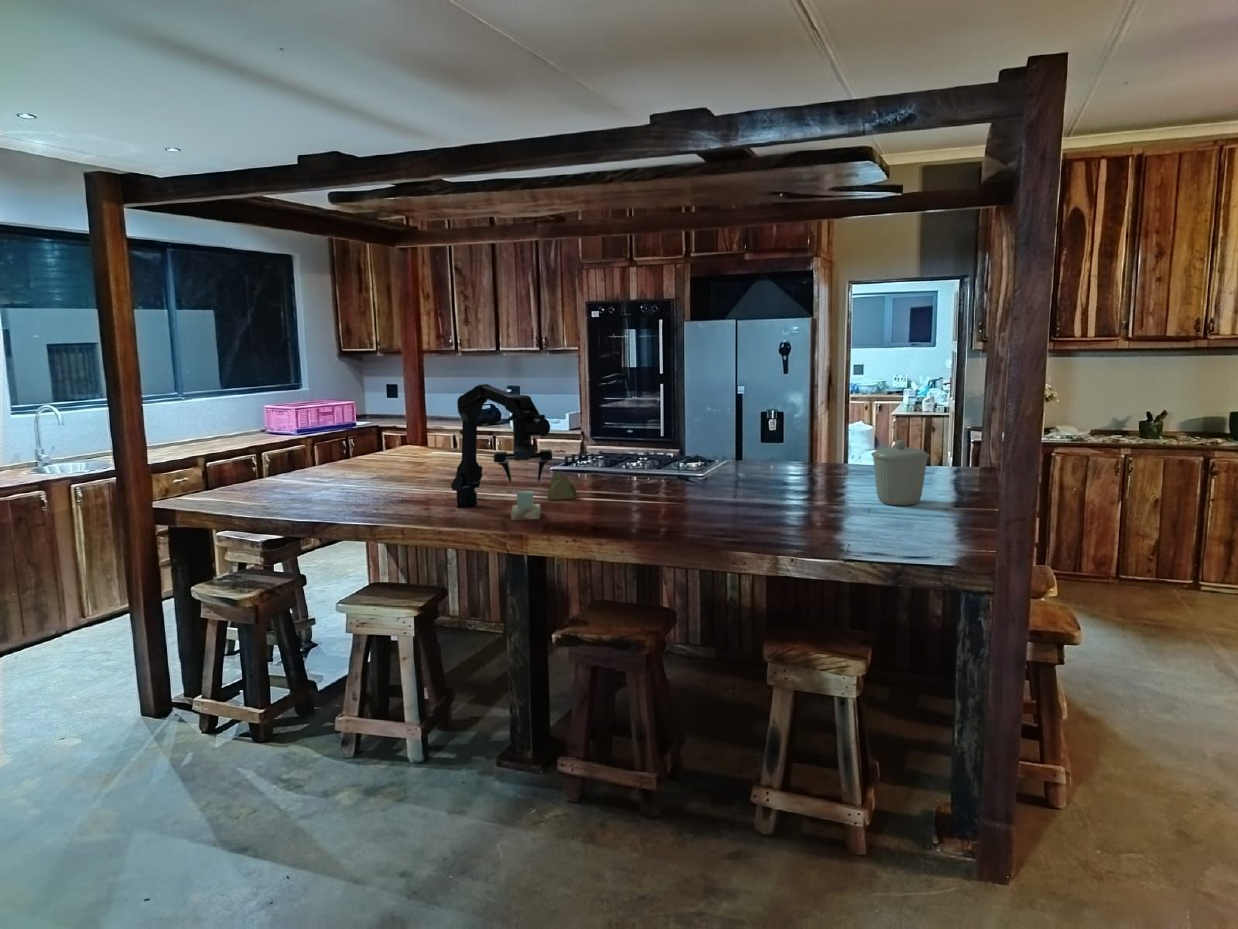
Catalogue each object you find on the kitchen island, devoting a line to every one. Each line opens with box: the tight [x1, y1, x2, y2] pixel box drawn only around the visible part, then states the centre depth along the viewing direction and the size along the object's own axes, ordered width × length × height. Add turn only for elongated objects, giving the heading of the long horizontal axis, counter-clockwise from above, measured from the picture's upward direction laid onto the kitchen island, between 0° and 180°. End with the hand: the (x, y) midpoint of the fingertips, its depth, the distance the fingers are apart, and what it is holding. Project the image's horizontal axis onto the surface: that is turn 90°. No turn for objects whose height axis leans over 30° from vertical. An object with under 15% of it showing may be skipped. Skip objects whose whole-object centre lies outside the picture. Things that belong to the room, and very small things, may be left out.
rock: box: [546, 471, 579, 501], centre depth 293 cm, size 11×9×10 cm
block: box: [516, 490, 535, 509], centre depth 266 cm, size 5×5×5 cm
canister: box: [870, 439, 930, 507], centre depth 268 cm, size 18×18×21 cm
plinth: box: [510, 503, 541, 521], centre depth 266 cm, size 9×9×3 cm
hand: (524, 482), depth 265 cm, fingers open, 9 cm apart
